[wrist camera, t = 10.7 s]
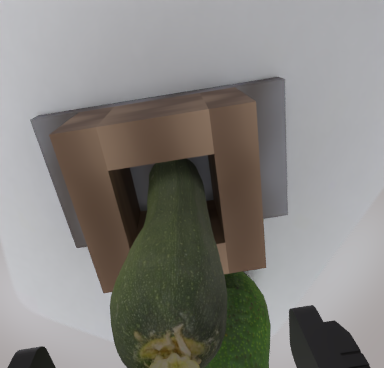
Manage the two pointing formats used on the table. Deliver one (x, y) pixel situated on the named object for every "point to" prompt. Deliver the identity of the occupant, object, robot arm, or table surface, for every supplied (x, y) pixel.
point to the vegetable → (171, 278)
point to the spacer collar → (168, 151)
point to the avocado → (244, 326)
